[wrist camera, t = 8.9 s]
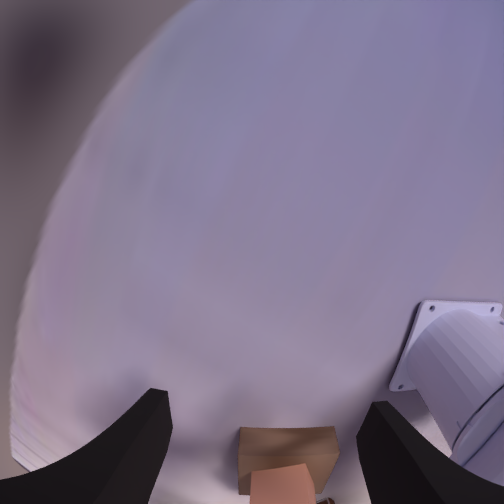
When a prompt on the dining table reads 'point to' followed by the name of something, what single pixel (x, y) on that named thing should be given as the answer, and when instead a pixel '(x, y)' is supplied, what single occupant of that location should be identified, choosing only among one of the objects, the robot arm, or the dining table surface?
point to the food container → (325, 501)
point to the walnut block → (287, 452)
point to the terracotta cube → (282, 486)
